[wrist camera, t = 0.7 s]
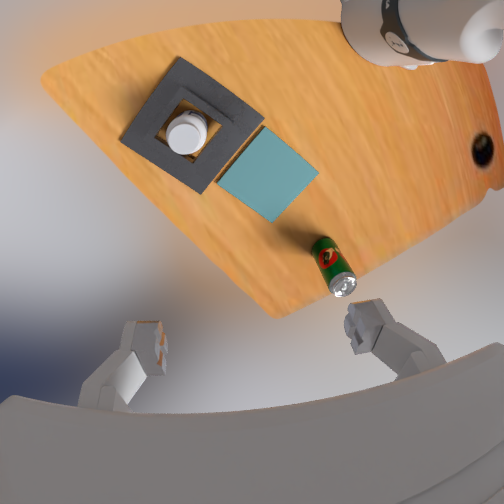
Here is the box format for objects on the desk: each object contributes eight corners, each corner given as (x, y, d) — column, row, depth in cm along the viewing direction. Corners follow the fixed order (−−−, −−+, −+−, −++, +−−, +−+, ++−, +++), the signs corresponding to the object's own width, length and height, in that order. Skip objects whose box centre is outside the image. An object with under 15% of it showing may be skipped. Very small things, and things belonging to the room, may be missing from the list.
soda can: (307, 256, 57) (325, 297, 47) (315, 234, 54) (337, 273, 44) (329, 259, 58) (351, 299, 48) (339, 238, 55) (363, 276, 45)
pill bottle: (175, 146, 42) (166, 163, 34) (170, 113, 39) (158, 122, 31) (210, 140, 42) (208, 156, 34) (205, 107, 39) (202, 114, 31)
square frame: (181, 57, 34) (177, 55, 31) (264, 117, 41) (268, 121, 38) (121, 141, 40) (113, 147, 37) (201, 193, 47) (199, 203, 44)
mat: (265, 126, 42) (265, 126, 42) (318, 172, 47) (319, 173, 47) (216, 182, 47) (216, 183, 46) (271, 221, 52) (272, 223, 51)
